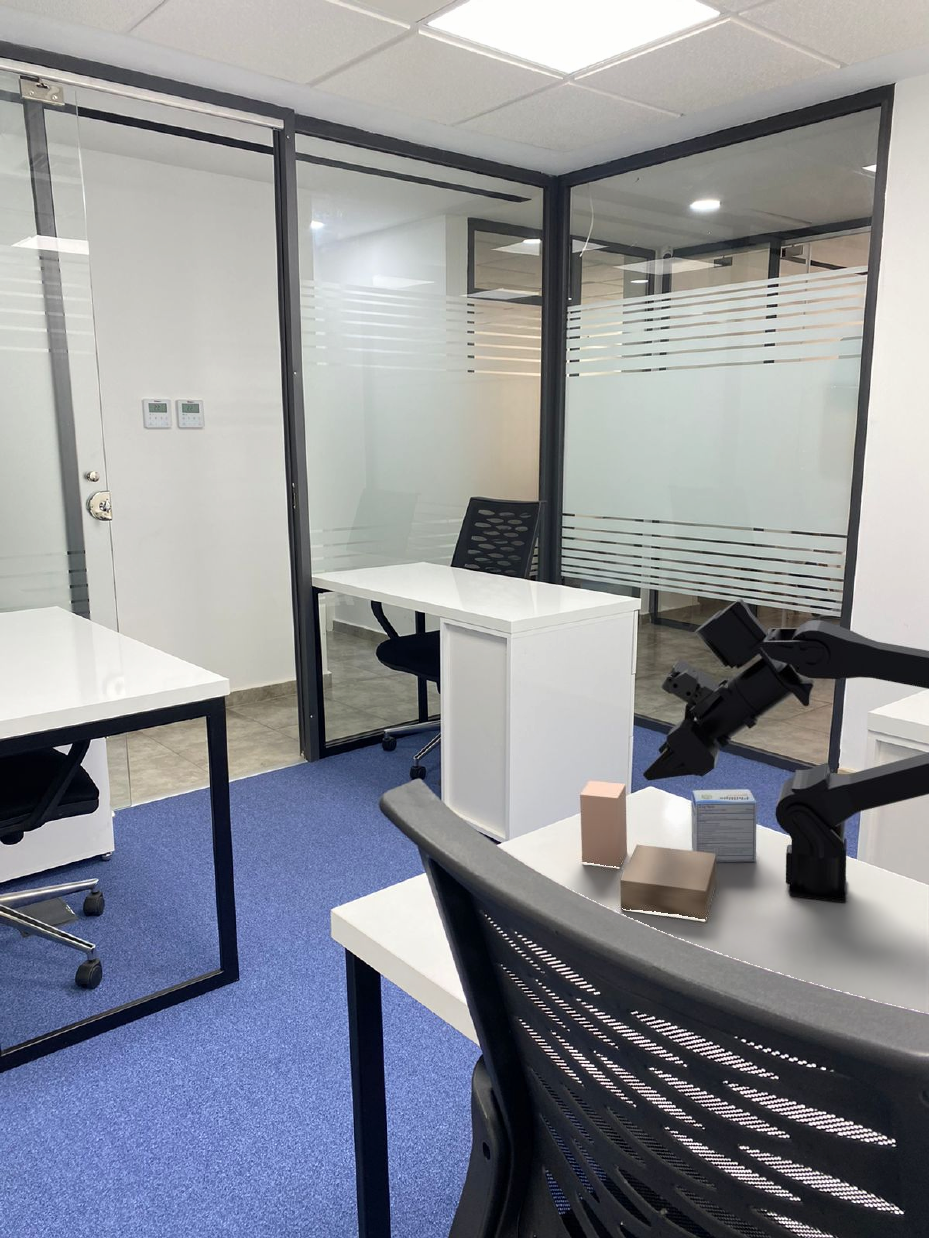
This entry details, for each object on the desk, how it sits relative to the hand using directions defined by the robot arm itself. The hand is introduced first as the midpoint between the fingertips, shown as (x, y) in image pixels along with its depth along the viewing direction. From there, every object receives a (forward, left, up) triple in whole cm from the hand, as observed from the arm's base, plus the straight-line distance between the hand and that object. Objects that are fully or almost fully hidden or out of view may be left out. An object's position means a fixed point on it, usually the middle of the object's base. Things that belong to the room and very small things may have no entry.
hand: (653, 764), depth 120 cm
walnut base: (-3, +8, -14) cm, 16 cm away
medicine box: (-8, -5, -14) cm, 17 cm away
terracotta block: (+7, 0, -14) cm, 16 cm away
